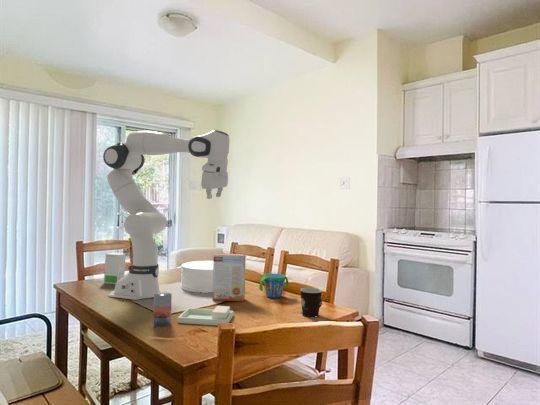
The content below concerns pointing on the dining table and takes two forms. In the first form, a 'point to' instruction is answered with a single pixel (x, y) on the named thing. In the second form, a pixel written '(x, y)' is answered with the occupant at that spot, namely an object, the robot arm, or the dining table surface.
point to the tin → (162, 309)
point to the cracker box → (229, 277)
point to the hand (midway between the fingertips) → (213, 197)
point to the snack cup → (273, 284)
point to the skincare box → (114, 267)
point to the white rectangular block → (221, 312)
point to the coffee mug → (310, 301)
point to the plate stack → (197, 276)
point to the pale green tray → (201, 317)
